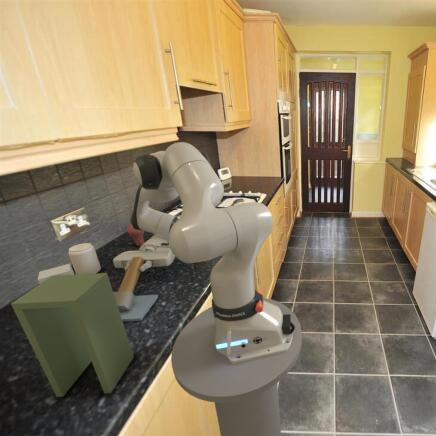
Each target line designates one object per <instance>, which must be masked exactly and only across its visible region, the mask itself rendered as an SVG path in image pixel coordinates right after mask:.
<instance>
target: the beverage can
mask: <svg viewBox="0 0 436 436" xmlns="http://www.w3.org/2000/svg"><path fill="white" fill-rule="evenodd" d="M68 256H69V259H70V261H71V264H72V268H73V269H74V270H73V271H74V273H75V274H97V273H99V272H100V271H101V270H102V267H101V264H100V261H99V257H98V254H97V252H96V249H95V246H94V245H93V244H92V243H90V242H84V243H79V244H75V245H72V246H71V247H69V248H68Z"/></svg>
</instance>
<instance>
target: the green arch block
mask: <svg viewBox="0 0 436 436" xmlns="http://www.w3.org/2000/svg"><path fill="white" fill-rule="evenodd" d="M112 287H113V286H112V284H111V282H110V278H109V275H108V273H107V272H100V273H99V272H97V273H96V274H76V273H74V275H54V276H51V277H50V278H48V279H47V280H45V281H44V282H42V283H41V284H39V283H38V285H37V286H35V287H34V288H32V289H30V290H29V291H28V292H26V293H24V294H23V295H22V296H20V297H19V298H17V299H15V300H14V301H12V302H11V303H10V305H11V307H12V309H13V311H14V313H15V315H16V318H17V319H18V321H19V323H20V326H21V328H22V330H23V332H24V334H25V336H26V337H27V340H28V342H29V345H30V346H31V348H32V350H33V352H34V354H35V356H36V359H37V360H38V362H39V364H40V366H41V368H42V371H43V372H44V374H45V376H46V378H47V380H48V382H49V385H50V387H51V388H52V390H53V393H54V394H55V396H56V398H61V397H65V396H66V394H67V393H68V391H69V390H70V389H71V388H72V386H73V385H74V384H75V382H76V381H77V380H78V379H79V378H80V376H81V375H82V374H83V373H84V371H85V370H86V369H87V368H88V366H90V364H92V366H93V368H94V371H95V374H96V376H97V378H98V381H99V383H100V386H101V389H102V391H103V394H112V393H113V391H114V390H115V388H116V387H117V385H118V383H119V381H120V380H121V378H122V377H123V375H124V373H125V372H126V370H127V369H128V368H129V366H130V364H131V362H132V361H133V359H134V358H135V356H134V352H133V349H132V346H131V343H130V341H129V338H128V334H127V330H126V328H125V325H124V322H123V321H122V318H121V315H120V312H119V309H118V306H117V303H116V300H115V297H114V293H113V292H114V291H113V288H112Z"/></svg>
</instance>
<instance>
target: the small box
mask: <svg viewBox="0 0 436 436" xmlns="http://www.w3.org/2000/svg"><path fill="white" fill-rule="evenodd" d="M73 269H74V268H73V266H72V265H71V263H67V264H63V265H60V266H55V267H52V268H48V269H44V270H40V271H39V272H38V276H37V282H38V285H39V284H41V283H42V282H44V281H45V280H47V279H48V278H50V277H51V276H54V275H75V271H74V270H73Z"/></svg>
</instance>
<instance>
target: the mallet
mask: <svg viewBox="0 0 436 436" xmlns="http://www.w3.org/2000/svg"><path fill="white" fill-rule="evenodd" d="M144 262H145V261H144V259H143V258H142V257H133V258H132V260H131V262H130V265H129V267H128V270H127V272H125V274H124V277H123V279H122V281H121V284H120V286H119V288H118V291H113V293H114V297H115V300H116V303H117V306H118V309H119V311H130V310H131V308H132V305H133V302H134V300H135V297H136V296H137V295H135V294H134V291H135V287H136V285H137V283H138V280H139V278H140V275H141V273H142V271H138V267H139V266H140V265H143V264H144Z"/></svg>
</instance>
